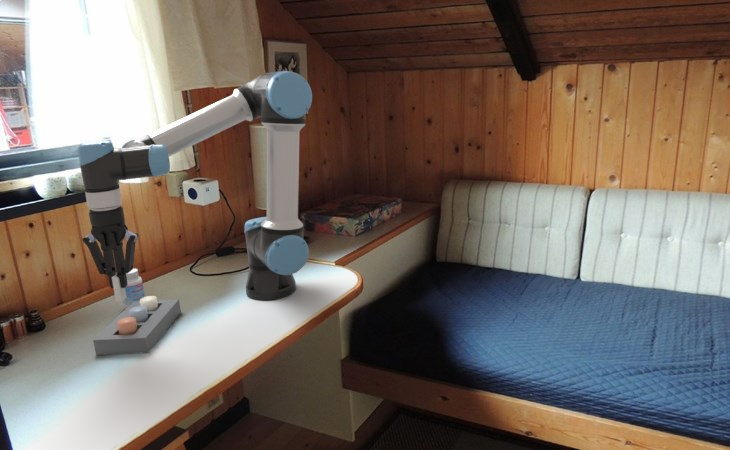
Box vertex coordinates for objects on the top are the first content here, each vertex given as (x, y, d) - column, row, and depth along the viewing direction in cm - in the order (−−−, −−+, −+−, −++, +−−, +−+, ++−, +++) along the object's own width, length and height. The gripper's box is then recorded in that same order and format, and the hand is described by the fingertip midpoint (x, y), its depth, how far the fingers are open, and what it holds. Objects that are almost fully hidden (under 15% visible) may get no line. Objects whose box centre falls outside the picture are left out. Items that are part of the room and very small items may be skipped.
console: (181, 312, 164) (179, 299, 163) (148, 352, 141) (145, 337, 139) (136, 314, 164) (133, 301, 163) (96, 354, 141) (93, 340, 140)
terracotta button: (141, 331, 147) (138, 316, 146) (133, 339, 143) (131, 324, 142) (124, 331, 147) (121, 317, 146) (116, 339, 143) (113, 325, 142)
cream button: (161, 308, 160) (159, 295, 159) (155, 315, 156) (153, 301, 155) (145, 309, 161) (143, 296, 160) (139, 316, 156) (136, 302, 155)
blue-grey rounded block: (151, 319, 154) (149, 305, 153) (145, 326, 149) (142, 312, 148) (135, 320, 154) (132, 306, 153) (128, 327, 150) (125, 313, 149)
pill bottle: (139, 311, 166) (132, 274, 163) (120, 310, 167) (113, 274, 164) (150, 303, 172) (144, 267, 169) (132, 302, 173) (126, 267, 170)
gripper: (138, 202, 139) (153, 293, 146) (86, 204, 140) (102, 294, 146) (125, 209, 132) (141, 304, 138) (70, 212, 133) (88, 306, 139)
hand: (121, 299), depth 142 cm, fingers closed
